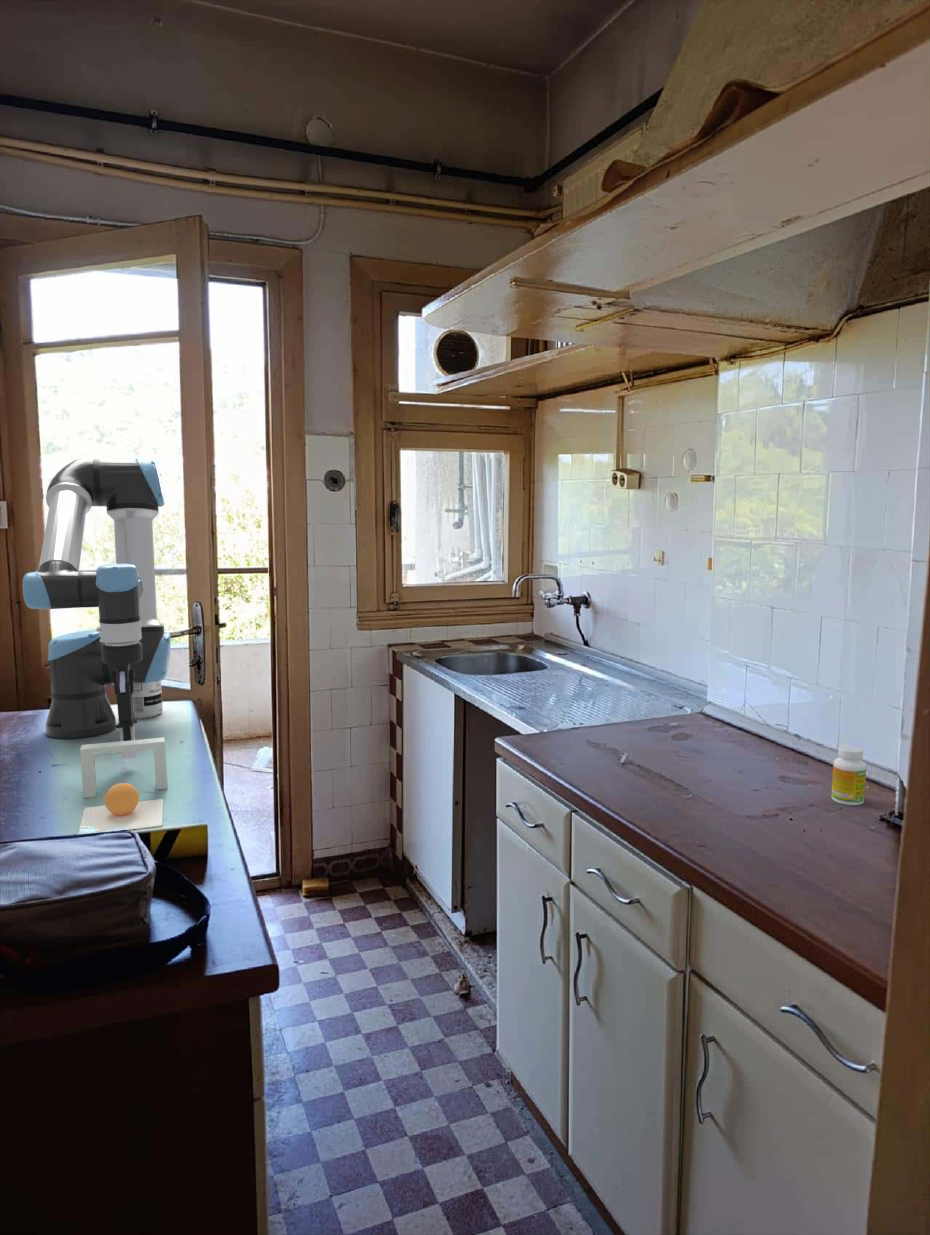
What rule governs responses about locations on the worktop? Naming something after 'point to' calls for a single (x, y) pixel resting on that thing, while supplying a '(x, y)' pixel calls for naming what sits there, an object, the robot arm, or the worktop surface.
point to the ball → (121, 799)
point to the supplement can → (147, 699)
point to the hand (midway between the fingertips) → (128, 756)
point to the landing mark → (124, 817)
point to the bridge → (122, 746)
